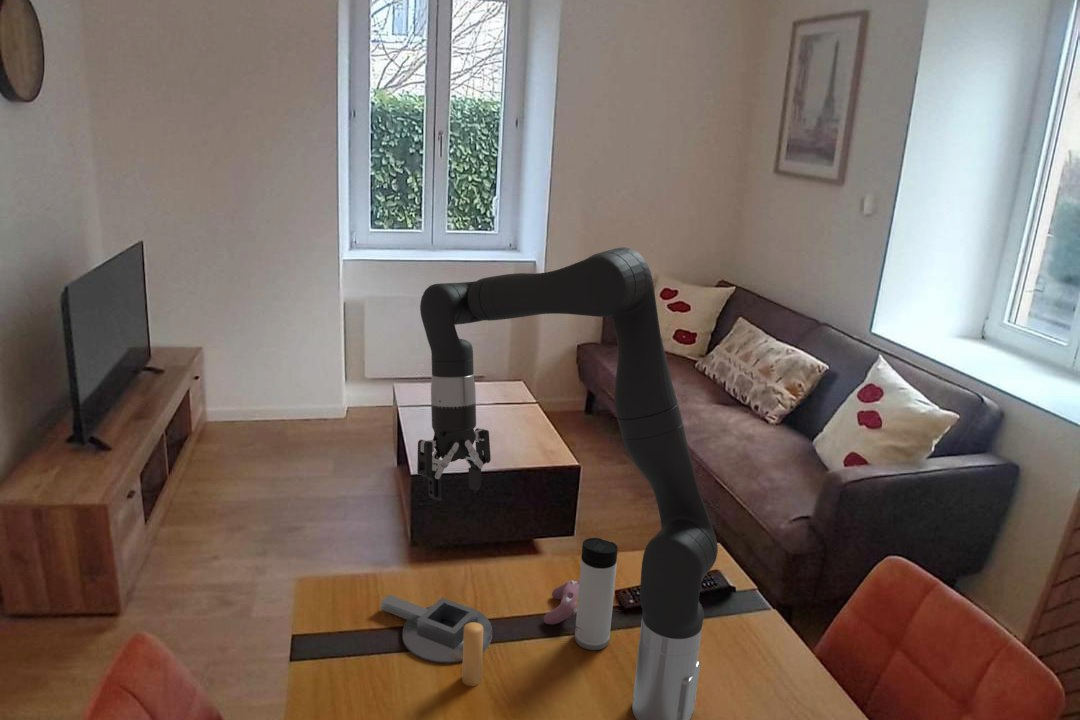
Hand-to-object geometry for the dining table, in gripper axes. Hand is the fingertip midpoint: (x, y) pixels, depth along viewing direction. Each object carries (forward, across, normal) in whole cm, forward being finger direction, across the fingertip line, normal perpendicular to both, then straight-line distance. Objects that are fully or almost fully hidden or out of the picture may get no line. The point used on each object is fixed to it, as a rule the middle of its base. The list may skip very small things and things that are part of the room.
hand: (455, 494), depth 141 cm
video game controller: (+27, +21, -5) cm, 35 cm away
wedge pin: (+29, -4, -8) cm, 31 cm away
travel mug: (+29, +19, -14) cm, 37 cm away
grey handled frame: (+26, 0, +7) cm, 27 cm away
